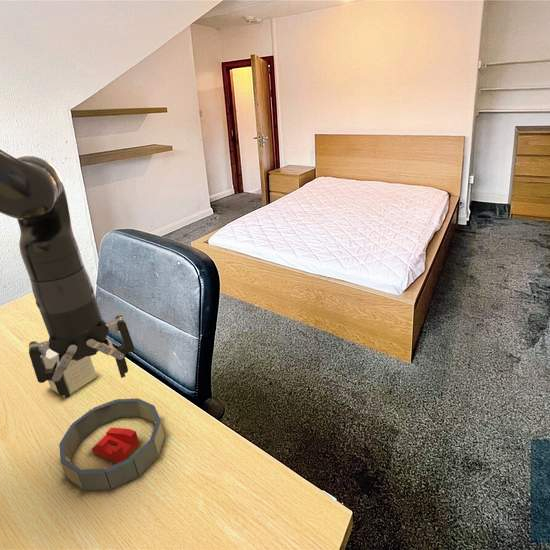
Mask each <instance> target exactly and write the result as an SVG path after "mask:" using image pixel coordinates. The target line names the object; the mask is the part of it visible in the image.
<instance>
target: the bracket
mask: <svg viewBox="0 0 550 550" xmlns="http://www.w3.org/2000/svg"><path fill="white" fill-rule="evenodd" d="M139 444H140V441H139V438H138V434H137V431H136V430H133V429H131V428H124V427H123V428H122V427H110V428H109V429H108V430H107V431H106V432H105V435H104V436H103V437H102V438H101V439H100V440H99V441H98V442H97V443H96V444H95V445H94V446H92V447H91V451H92V454H94V455H97V456H99V457H102V458H104V459H106V460H109V461H110V462H113V463H115V464H117V463H120V462H122V461H124V460H126V459H127V458H128V456H129V455H130V454H132V452H133V451H134V450H135V449H136V448H137V447H138V445H139ZM113 445H114V446H113Z"/></svg>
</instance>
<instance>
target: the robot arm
mask: <svg viewBox="0 0 550 550" xmlns="http://www.w3.org/2000/svg"><path fill="white" fill-rule="evenodd" d="M60 175H61V174H60V173H59V172H58V170H57V169H56V167H54V166H53V165H52V164H51V163H50V162H49V161H47V160H45V159H43V158H42V157H38V156H33V155H24V156H19V157H17V158H16V157H14V156H12V155H11V154H9V153H7V152H6V151H3V150H2V149H0V214H2V215H5V216H8V217H11V218H13V219H16V220H17V223H18V226H19V229H20V230H19V231H20V237H19V243H18V245H19V252H20V255H21V259H22V261H23V264H24V267H25V270H26V272H27V274H28V278H29V281H30V285H31V290H32V294H33V296H34V299H35V305H36V307H37V309H38V310H39V312H40V315H41V318H42V321H43V323H44V325H45V328H46V331H47V334H48V336H49V338H48V340H45V341H41V342H38V341H35V340H33V341H30V342H29V344H28V355H29V358H30V361H31V364H32V368H33V370H34V371H33V372H34V373H35V377H36V380H37V382H38V383H40V384H43V383H45V382H46V381H47V382H48V380H51V381H53V382H54V383H55V386H56V388H57V391H58V393H59V394H58V393H57V394H58V395H59V396H60V397H63V396H64V395H65V399H68V398H71V397H72V396H71V394H70V390H69V387H68V384H67V381H66V379H65V376H64V374H63V373H64V371H65V370H66V369H67V367H68V365H69V363H70V361H71V360H75V361H78V360H81V359H82V358H84V357H86V356H90V357H93V356H95V355H97V354H98V353H99V352H101V353H103V354H104V355H106V356H110V357H113V358H114V359H115V362H116V366H117V370H118V373H119V375H120V378H121V379H122V378H125V377H126V374H127V373H128V372H129V368H128V364H127V361H126V355H127V354H130V353H133V352H134V351H135V346H134V343H133V340H132V337H131V334H130V332H129V328H128V326H127V323H126V321H125V317H123V315H121V314H120V315H117V316H115V318H114V320H111V321H108V322H105V321H104V319H103V318H102V314H101V311H100V308H99V304H98V301H97V298H96V295H95V289H94V287H93V285H92V282H91V281H92V280H91V279H90V275H89V273H88V272H87V269H86V267H85V265H84V261H83V258H82V255H81V252H80V249H79V245H78V243H77V240H76V238H75V235H74V232H73V227H72V220H71V213H70V208H69V203H68V198H67V193H66V189H65V185H64V182H63V180H62V177H61V176H60ZM109 331H113V332H114V334H117V335H119V334H120V336H121V339H122V343H121V344H120V345H119V344H117V343H116V342H113V341H112V340H111V339H110V338H109V337H108V334H109ZM48 349H51V350H52V351H54V352H56V353H58V355H57V358H56V361H55V363H54V365H53V367H52V368H50V369H46V367H45V364H44V361H43V357H45V356H46V351H47V350H48Z"/></svg>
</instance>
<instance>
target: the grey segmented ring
mask: <svg viewBox="0 0 550 550" xmlns="http://www.w3.org/2000/svg"><path fill="white" fill-rule="evenodd" d="M138 417H139V418H142V419H144V420H146V421H147V422H148V421H149V422H151V423H153V424H154V427H153V430H152V433H151V436H150V438H149V440H147V442H146V443H145V444H144V445H143V446H142V447H140V448H139V450H137V451H136V452H135V453H134V454H133V455H132V456H130V457H129V458H126V459H125V460H124V461H122V462H120V463H115V464H113V465H111V466H109V467H106V468H80V467H78V466H77V465H76V464H74V463H72V457H73V455H74V454H75V452H76V450H77V449H78V447H79V445H80V443H81V441H83V439H84V438H86V437H88V435H89V434H91V433H92V432H94V431H95V430H96V429H97V428H98V427H99V426H102V425H104V424H107V423H109V422H113V421H115V420H117V419H119V418H138ZM164 441H165V431H164V428H163V423H162V420H161V417H160V415H159V413H158V411H157V407H156V406H155V404H152V403H149V402H147V401H145V400H143V399H141V398H116V399H113V400H110V401H108V402H105V403H102V404H100V405H98V406H97V405H96V406H94V407H92V408H90V409H89V410H88V411H86V412H85V413H84V414H82V415H81V416H80V417H79V418H78V419H76V420H74V422H73V423H71V424H70V425H69V427H68V429H67V430H66V432H65V433H64V435H63V437H62V439H61V440H60V442H59V444H58V446H59V456H60V457H59V458H60V464H61V467H62V469H63V471H64V473H65V476H66V478H67V480H69V481H70V482H72V483H73V484H75V485H76V486H77V487H79V488H80V489H82V490H83V491H106V490H113V489H116V488H118V487H120V486H122V485H124V484H126V483H128V482H130V481H133V480H135V479H137V478H139V477H141V475H142V474H144V472H145V471H146V470H147V469H148V468H149V467H151V465H152V464H153V463H154V462H155V461H156V460H157V459H158V458H159V456H160V453H161V450H162V447H163V444H164Z"/></svg>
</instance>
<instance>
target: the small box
mask: <svg viewBox="0 0 550 550" xmlns="http://www.w3.org/2000/svg"><path fill="white" fill-rule="evenodd" d="M57 355H58V353H56V352H54V351H52V350H51V349H48V350H47V351H46V356H45V357H43V361H44V364H45V367H46V369H50V368H52V367H53V365H54V363H55V361H56V358H57ZM63 374H64V376H65V379H66V381H67V384H68V387H69V390H70V395H72V394H73V393H75V392H76V391H78V390H80V389H81V388H82V387H84V386H86V385H87V384H88V383H90V382H92V381H93V380H94V379H97V372H96V369H95V367H94V363H93V361H92V358H91V356H86V357H84V358H82V359H81V360H78V361H75V360H71V361H70V363H69V365H68V367H67V369H66V370H65V371H64V373H63ZM47 382H48V385H49V386H50V389H51V390H52V391H54V392H55V393H57V394H58V395H59V393H58V391H57V388H56V386H55V383H54V382H53V381H51V380H47ZM62 398H65V395H64V396H62ZM65 399H66V398H65Z"/></svg>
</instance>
